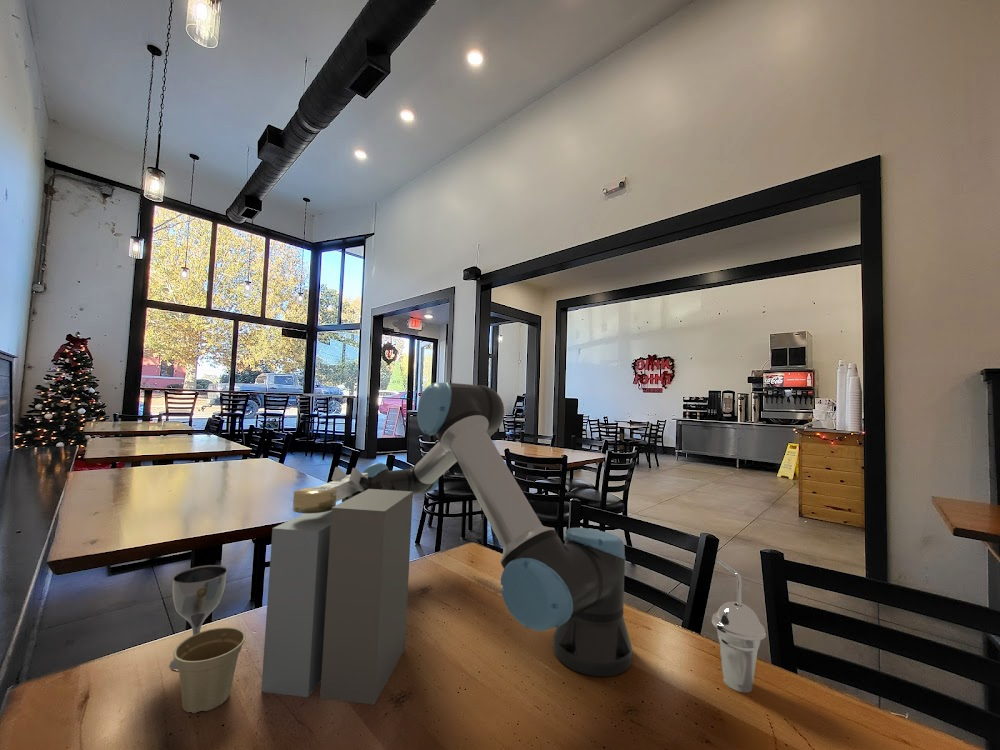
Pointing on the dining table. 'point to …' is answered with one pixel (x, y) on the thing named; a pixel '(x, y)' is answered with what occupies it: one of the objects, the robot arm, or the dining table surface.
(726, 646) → the cup with straw
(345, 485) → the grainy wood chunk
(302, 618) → the short stand
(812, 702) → the dining table surface
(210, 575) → the wine glass
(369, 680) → the tall stand
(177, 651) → the flower pot
